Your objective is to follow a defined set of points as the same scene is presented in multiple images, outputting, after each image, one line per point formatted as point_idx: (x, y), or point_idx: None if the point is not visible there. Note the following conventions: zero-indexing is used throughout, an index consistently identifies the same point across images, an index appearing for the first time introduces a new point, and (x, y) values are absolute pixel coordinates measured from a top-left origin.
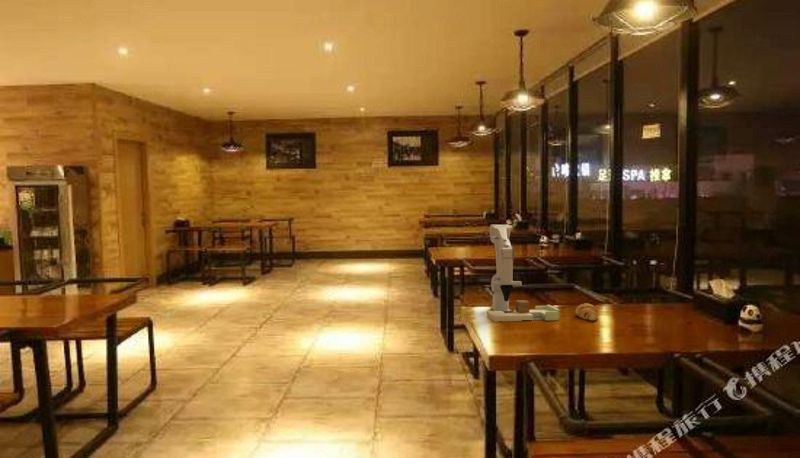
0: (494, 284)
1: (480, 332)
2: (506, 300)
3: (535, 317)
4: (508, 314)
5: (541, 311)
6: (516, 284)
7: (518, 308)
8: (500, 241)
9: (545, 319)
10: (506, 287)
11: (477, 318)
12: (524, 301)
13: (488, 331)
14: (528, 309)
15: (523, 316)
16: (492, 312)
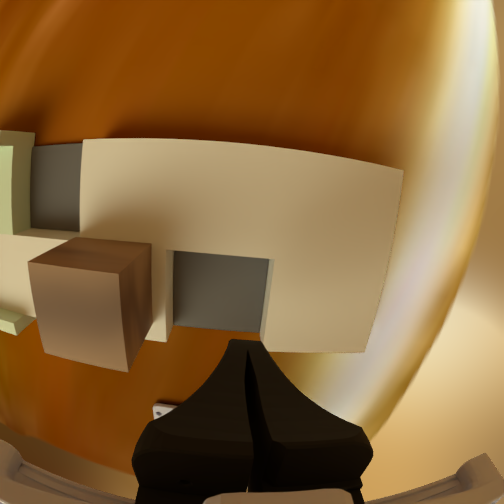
0: (472, 483)
1: (488, 16)
2: (253, 342)
3: (60, 209)
4: (268, 204)
5: (6, 251)
6: (56, 490)
7: (141, 272)
8: None
9: (31, 143)
10: (302, 453)
11: (428, 287)
12: (60, 305)
13: (461, 7)
14: (69, 243)
15: (159, 139)
16: (355, 304)
